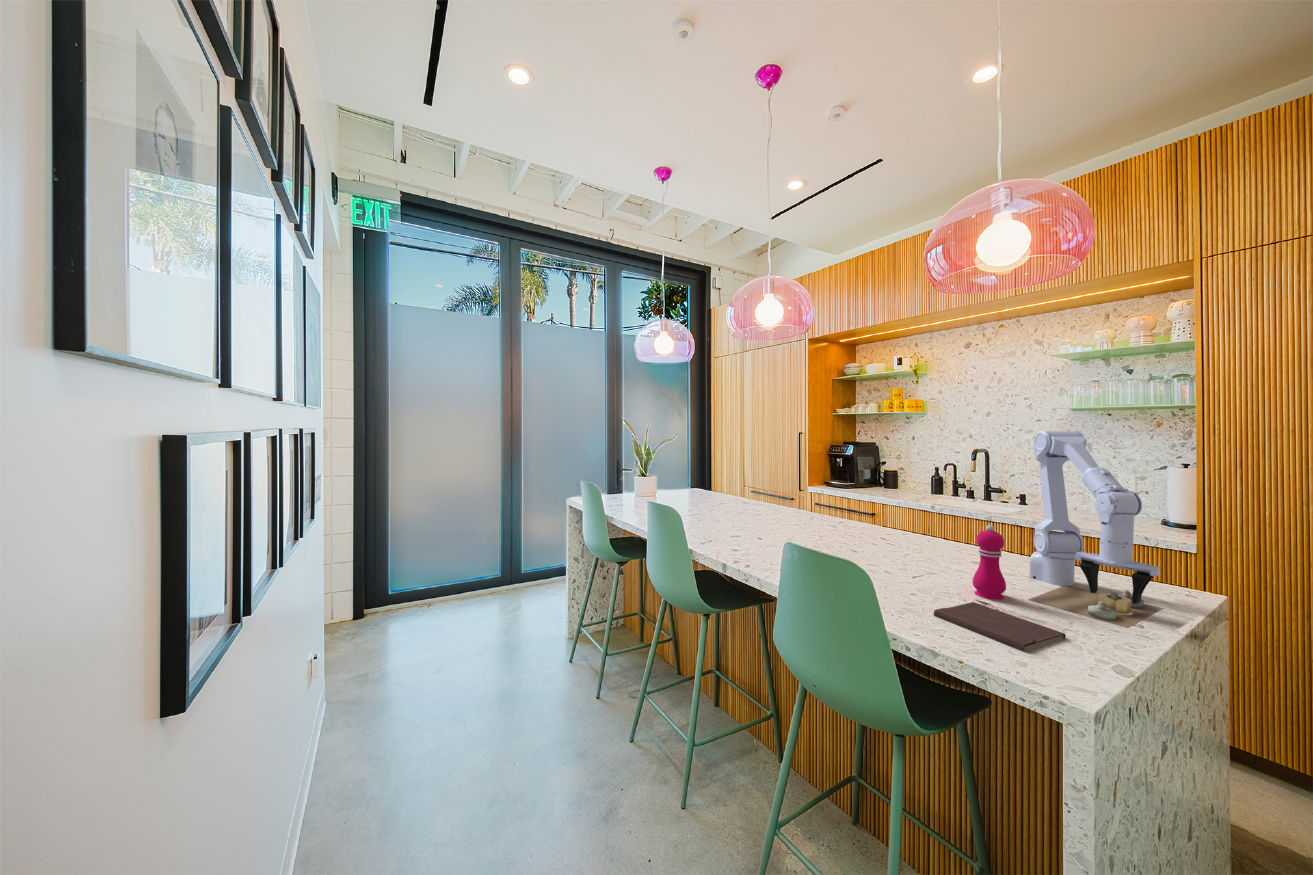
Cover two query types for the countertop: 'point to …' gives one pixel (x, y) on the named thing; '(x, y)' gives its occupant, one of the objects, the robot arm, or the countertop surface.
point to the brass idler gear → (1116, 603)
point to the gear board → (1095, 605)
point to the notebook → (999, 626)
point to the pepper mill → (989, 566)
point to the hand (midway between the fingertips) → (1114, 597)
